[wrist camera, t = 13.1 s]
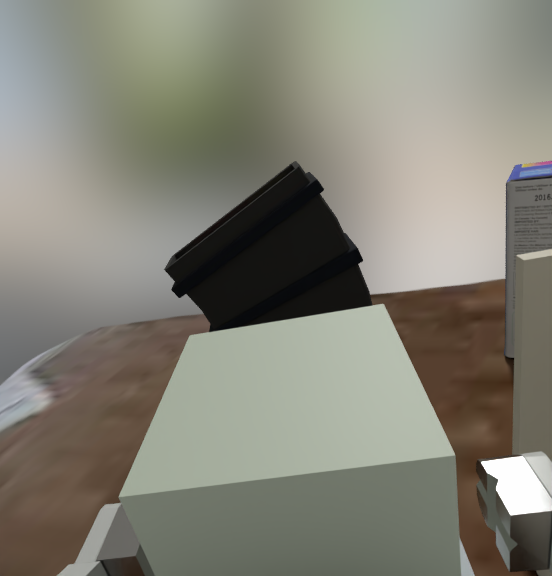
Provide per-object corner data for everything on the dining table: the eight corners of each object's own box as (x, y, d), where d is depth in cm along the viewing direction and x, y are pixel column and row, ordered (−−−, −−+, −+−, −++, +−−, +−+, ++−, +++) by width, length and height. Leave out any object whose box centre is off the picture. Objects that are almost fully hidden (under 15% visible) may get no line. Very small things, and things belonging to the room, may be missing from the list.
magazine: (429, 341, 30) (305, 162, 25) (278, 437, 32) (137, 292, 27) (411, 317, 33) (298, 156, 28) (275, 405, 36) (150, 272, 31)
